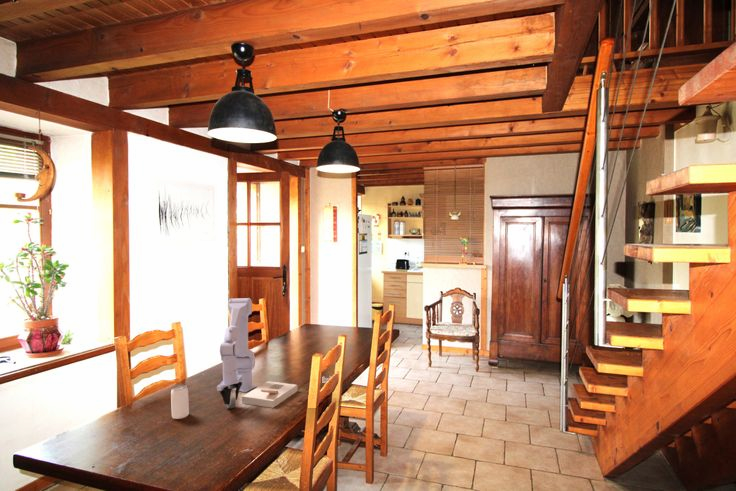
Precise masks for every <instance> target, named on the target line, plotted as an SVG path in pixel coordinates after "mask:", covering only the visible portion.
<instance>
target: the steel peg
mask: <svg viewBox="0 0 736 491" xmlns="http://www.w3.org/2000/svg"><path fill="white" fill-rule="evenodd" d="M228 387H229V388H230V389H232V391H231V395H230V404H229V405H228V404H225V408H226V409H234V408H236V407H237V400H236V387H235V386H228Z"/></svg>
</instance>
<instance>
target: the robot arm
mask: <svg viewBox="0 0 736 491" xmlns="http://www.w3.org/2000/svg"><path fill="white" fill-rule="evenodd" d="M227 309H228V311H229V313H230V321H229V322H230V323H229V326H228V327H227V328H226V330H225V334H224V339H223V342H222V343H221V344H220V347H219V354H220V359H221V360H220V361H222V381H220V383H219V384H218V385H217V386H216V391H217V392H219V393H220V396H221V397H222V399H223V403H224V405H226V404H228V405H229V404H230V395H231V391H232V389H230V388H229V386H235V387H236V401H237V400H238V397H239V392H244V393H248V392H250V390H251V391H252V390H254V389H255V388H257V385H256V384H255V385H254V384H253V372H252V371H253V370H254V369H255V367H256V366H255V365H256V356H255V352H253V351H252V350H251V349H249V316H250V315H252V312H253V302H252V299H251V298H250V297H248V298H247V297H244V298H243V297H242V298H229V300H228V303H227Z"/></svg>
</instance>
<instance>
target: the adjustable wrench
mask: <svg viewBox="0 0 736 491" xmlns="http://www.w3.org/2000/svg"><path fill="white" fill-rule="evenodd" d="M331 376H332V375H329V377H327V378H326V377H325V376H321V377H322V383H325V382H326V381H327V380H328V379H329V378H330V377H331Z"/></svg>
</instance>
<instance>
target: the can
mask: <svg viewBox="0 0 736 491" xmlns="http://www.w3.org/2000/svg"><path fill="white" fill-rule="evenodd" d="M170 403H171V404H170V405H171V408H170V409H171V417H172V419H174V420H181V419H185V418H188V416H189V413H190V410H189V409H190V407H189V406H190V405H189V404H190V403H189V389H188V386H187V385H186V384H177V385H175V386H173V387H171V391H170Z"/></svg>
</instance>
